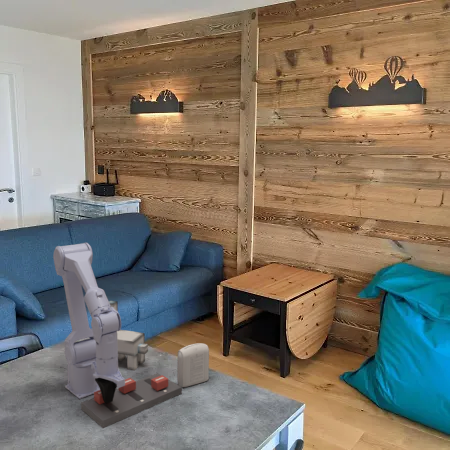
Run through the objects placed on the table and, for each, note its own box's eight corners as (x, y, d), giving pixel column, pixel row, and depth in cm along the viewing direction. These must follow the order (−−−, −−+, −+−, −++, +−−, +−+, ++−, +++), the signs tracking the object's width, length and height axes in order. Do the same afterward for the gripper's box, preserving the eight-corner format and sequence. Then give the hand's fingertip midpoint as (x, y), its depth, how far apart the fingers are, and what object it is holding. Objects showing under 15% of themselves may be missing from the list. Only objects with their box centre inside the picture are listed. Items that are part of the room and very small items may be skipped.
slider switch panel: (81, 409, 135) (81, 402, 134) (157, 378, 152) (157, 372, 152) (103, 427, 126) (103, 420, 126) (181, 393, 144) (181, 386, 143)
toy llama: (141, 371, 157) (140, 313, 154) (94, 363, 162) (92, 306, 159) (151, 362, 164) (150, 305, 161) (106, 354, 169) (104, 299, 166)
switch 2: (118, 389, 141) (118, 381, 140) (130, 385, 143) (130, 377, 143) (124, 393, 139) (123, 385, 138) (135, 389, 141) (135, 381, 141)
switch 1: (94, 400, 135) (93, 391, 134) (106, 395, 138) (106, 387, 137) (99, 404, 133) (99, 396, 132) (112, 399, 136) (112, 391, 135)
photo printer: (203, 375, 155) (204, 338, 153) (210, 380, 152) (211, 343, 150) (175, 383, 150) (175, 346, 148) (181, 389, 146) (181, 351, 144)
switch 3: (151, 387, 143) (151, 379, 142) (162, 382, 145) (162, 374, 145) (157, 390, 140) (157, 382, 140) (168, 386, 143) (168, 378, 143)
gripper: (80, 350, 133) (82, 396, 136) (107, 369, 123) (109, 418, 125) (103, 343, 138) (104, 387, 140) (131, 360, 128) (132, 408, 130)
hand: (108, 401), depth 133 cm, fingers closed
